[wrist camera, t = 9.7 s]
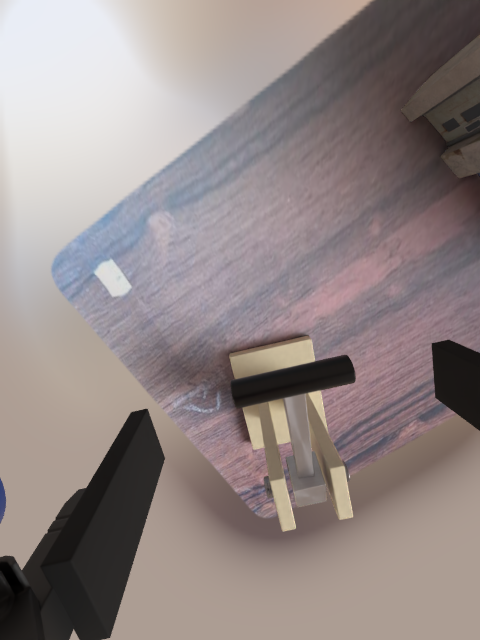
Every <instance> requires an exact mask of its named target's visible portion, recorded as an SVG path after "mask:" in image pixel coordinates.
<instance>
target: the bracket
mask: <svg viewBox="0 0 480 640" xmlns="http://www.w3.org/2000/svg"><path fill="white" fill-rule="evenodd" d="M229 359H230V362H231V366H232V370H233V374H234V378H235V379H239V378H243V377H248V376H252V375H257V374H261V373H265V372H270V371H274V370H279V369H283V368H288V367H292V366H297V365H301V364H306V363H310V362H314V361H315V357H314V351H313V346H312V340H311V338H310V337H309V336H304V337H300V338H296V339H291V340H287V341H282V342H278V343H274V344H269V345H265V346H260V347H256V348H252V349H247V350H243V351H238V352H234V353H230V354H229ZM305 395H306V404H307V413H308V422H309V431H310V440H311V448H312V450H313V451H315V453H316V456H317V459H318V462H319V465H320V468H321V471H322V475H323V478H324V481H325V484H326V487H327V490H328V492H329V495H330V497H331V500H332V503H333V505H334V508H335V511H336V513H337V516H338V518H339V520H342V519H347V518H352V517H353V513H352V508H351V502H350V496H349V490H348V484H347V482H349V481H350V475H349V472H348V469H347V466H346V464H345V462H344V461H343V460H341V458H340V456H339V454H338V452H337V450H336V448H335V446H334V444H333V442H332V440H331V438H330V436H329V434H328V429H327V423H326V418H325V412H324V407H323V401H322V396H321V390H320V391H315V392H311V393H306V394H305ZM242 409H243V412H244V416H245V420H246V424H247V428H248V432H249V435H250V439H251V443H252V447H253V450H255V449H259V448H265V455H266V461H267V468H268V475H269V476H265V477H264V483H265V488H266V493H267V497H268V498H273V497H274V501H275V505H276V509H277V513H278V517H279V521H280V525H281V529H282V531H287V530H292V529H296V525H295V521H294V516H293V512H292V507H291V502H290V498H289V493H288V489H287V484H286V480H285V475H284V471H283V466H282V462H281V457H280V452H279V448H278V444H283V443H287V442H291V439H290V434H289V429H288V423H287V418H286V413H285V407H284V402H283V399H279V400H274V401H270V402H265V403H261V404H256V405H252V406H247V407H243V408H242Z"/></svg>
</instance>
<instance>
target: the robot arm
mask: <svg viewBox="0 0 480 640" xmlns="http://www.w3.org/2000/svg"><path fill="white" fill-rule="evenodd" d="M432 355H433V370H434V384H435V398H436V399H438V400H439V401H441V402H442V403H443V404H445V405H446V406H447V407H449V408H450V409H451V410H453V411H454V412H455V413H457V414H458V415H459V416H461V417H462V418H463V419H465V420H466V421H467V422H469V423H470V424H471V425H473V426H474V427H475V428H477V429H478V430H480V353H478V352H476V351H474V350H471V349H469V348H467V347H464V346H462V345H460V344H458V343H455V342H453V341H451V340H445V341H441V342H436V343H432ZM164 460H165V457H164V454H163V451H162V448H161V446H160V443H159V440H158V437H157V435H156V432H155V429H154V426H153V423H152V420H151V417H150V415H149V412H148V409H144V410H139V411H135V412H132V413H131V414H130V415H129V417H128V419H127V420H126V422H125V424H124V426H123V427H122V429H121V431H120V432H119V434H118V436H117V438H116V439H115V441H114V442H113V444H112V446H111V447H110V449H109V451H108V453H107V454H106V456H105V458H104V460H103V461H102V463H101V464H100V466H99V468H98V469H97V471H96V473H95V474H94V476H93V478H92V480H91V481H90V483H89V485H88V486H87V488H84V489H79V490H78V491H77V492H76V493H75V494H74V495H73V496H72V497H71V498H70V499H69V500H68V501H67V502H66V503H65V504H64V506H63V507H62V509H61V510H60V512H59V514H58V515H57V517H56V520H55V521H53V523H52V524H51V526H50V527H49V529H48V533H47V534H45V535H44V537H43V538H42V540H41V542H40V543H39V545H38V546H37V548H36V549H35V551H34V552H33V554H32V556H31V557H30V559H29V560H28V562H27V563H26V565H25V567H24V568H23V570H21V569H20V567H19V565H18V564H17V562H16V560H15V558H14V557H13V556H3V557H0V640H69V639H70V636H71V634H72V631H73V629H74V630H75V632H76V634H77V636H78V637H79V639H80V640H102V639H107V638H110V636H111V632H112V629H113V626H114V623H115V620H116V617H117V613H118V610H119V607H120V604H121V600H122V597H123V593H124V591H125V587H126V584H127V581H128V577H129V574H130V571H131V568H132V564H133V561H134V558H135V555H136V551H137V548H138V544H139V542H140V538H141V535H142V532H143V528H144V525H145V522H146V519H147V515H148V512H149V509H150V505H151V502H152V499H153V496H154V492H155V489H156V486H157V483H158V479H159V476H160V473H161V469H162V466H163V463H164Z"/></svg>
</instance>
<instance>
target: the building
mask: <svg viewBox="0 0 480 640" xmlns="http://www.w3.org/2000/svg"><path fill="white" fill-rule="evenodd" d="M401 112H402V113H403V114H404V115H405V116H406V117H407V119H408V120H409V121H410V122H412V121H413V120H415V119H416V118H418V117H419V116H421V115H422V116H424V115H425V117H426V118H427V119H428V120H429V121H430V122H431V124H432V125H433V126H434V127H435V128H436V130H437V131H438V132H439V133H440V134H441V136H442V137H443V138H444V139H445V140H446V142H447V143H446V145H447V146H449V145H451V146H450V147H449V148H448V149H447V150H446V151H445V152H444V153H443V154H442V155H441V156H440V157H441V158H442V160H443V161H444V162H445V163H446V164H447V165H448V167H449V168H450V169H451V170H452V171H453V172H454V174H455V175H456V176H457V177H458V178H463V177H466V176H470V175H473V174H478V175H479V176H480V34H479V35H478V36H477V37H476V38H475V39H474V40H472V41H471V42H470V43H469V44H468V45H467V46H465V47H464V48H463V49H462V50H461V51H459V52H458V53H457V54H456V55H455V56H454V57H452V58H451V59H450V60H449V61H448V62H447V63H445V64H444V65H443V66H442V67H441V68H439V69H438V70H437V71H436V72H435V73H434V74H432V75H431V76H430V77H429V79H428V80H427V81H426V82H425V83H424V84H423V85H422V87H421V88H420V89H419V90H418V91H417V92H416V93H415V94H414V96H413V97H412V98H411V99H410V100H409V101H408V102H407V104H406V105H405V106H404V107H403V108H402V109H401Z"/></svg>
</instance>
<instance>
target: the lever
mask: <svg viewBox="0 0 480 640" xmlns="http://www.w3.org/2000/svg"><path fill="white" fill-rule="evenodd" d="M355 379H356V377H355V370H354V367H353V364H352V362H351V360H350V358H349V357H348V356H347V355H341V356H337V357H332V358H328V359H323V360H319V361H314V362H310V363H306V364H301V365H297V366H292V367H288V368H283V369H279V370H274V371H270V372H265V373H261V374H257V375H252V376H248V377H243V378H239V379H234V380H231V391H232V396H233V401H234V404H235V407H236V408H243V407H247V406H252V405H256V404H261V403H265V402H270V401H274V400H279V399H283V402H284V407H285V413H286V418H287V423H288V429H289V434H290V439H291V445H292V450H293V456H289V457H286V462H287V466H288V471H289V475H290V479H291V484H292V488H293V492H294V496H295V500H296V505H297V507H301V506H306V505H311V504H316V503H321V502H326V501H327V497H326V484H325V481H324V478H323V475H322V471H321V468H320V465H319V462H318V459H317V456H316V453H315V451H312V449H311V440H310V431H309V422H308V413H307V404H306V395H305V394H306V393H311V392H315V391H320V390H324V389H329V388H333V387H338V386H342V385H347V384H351V383H354V382H355Z"/></svg>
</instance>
